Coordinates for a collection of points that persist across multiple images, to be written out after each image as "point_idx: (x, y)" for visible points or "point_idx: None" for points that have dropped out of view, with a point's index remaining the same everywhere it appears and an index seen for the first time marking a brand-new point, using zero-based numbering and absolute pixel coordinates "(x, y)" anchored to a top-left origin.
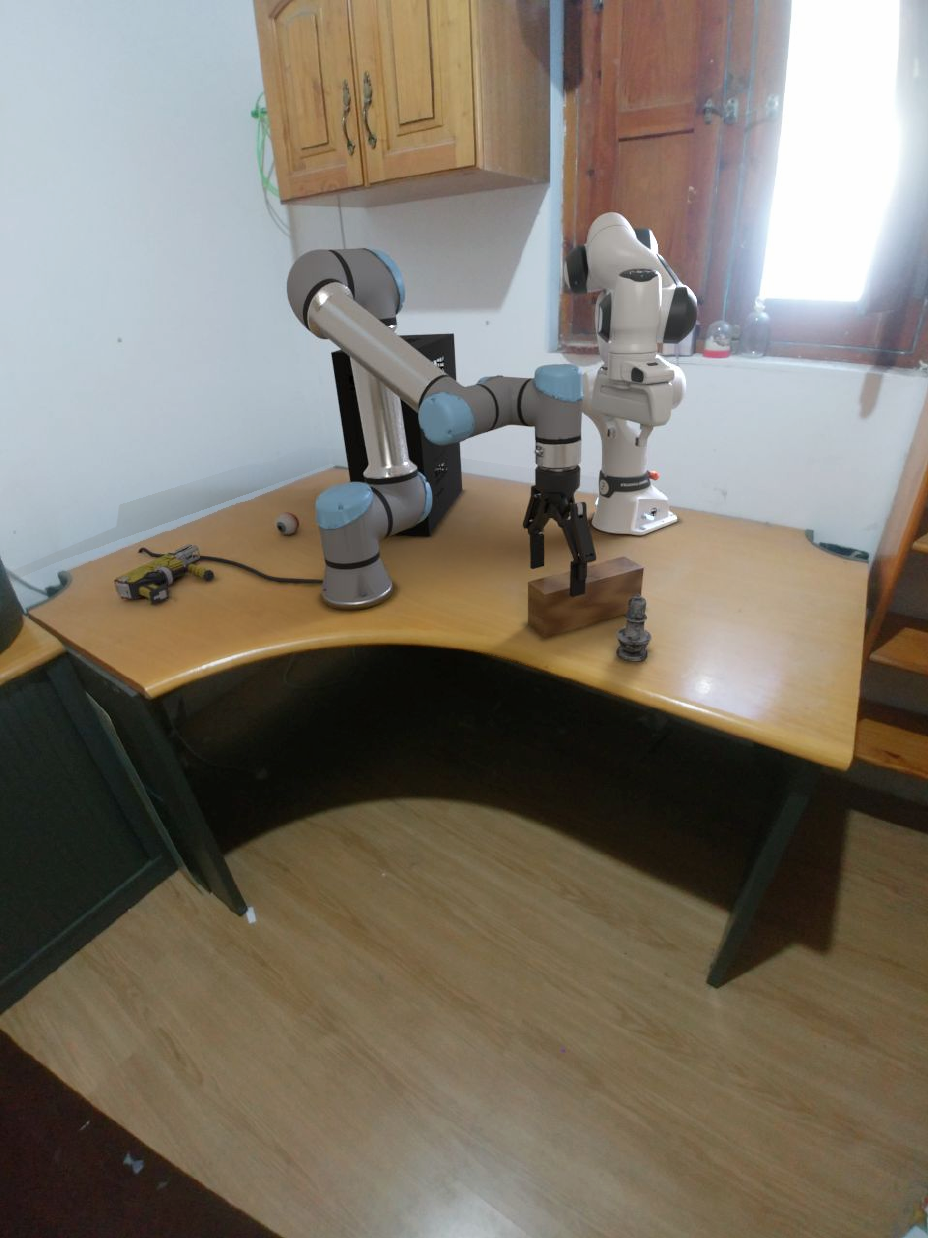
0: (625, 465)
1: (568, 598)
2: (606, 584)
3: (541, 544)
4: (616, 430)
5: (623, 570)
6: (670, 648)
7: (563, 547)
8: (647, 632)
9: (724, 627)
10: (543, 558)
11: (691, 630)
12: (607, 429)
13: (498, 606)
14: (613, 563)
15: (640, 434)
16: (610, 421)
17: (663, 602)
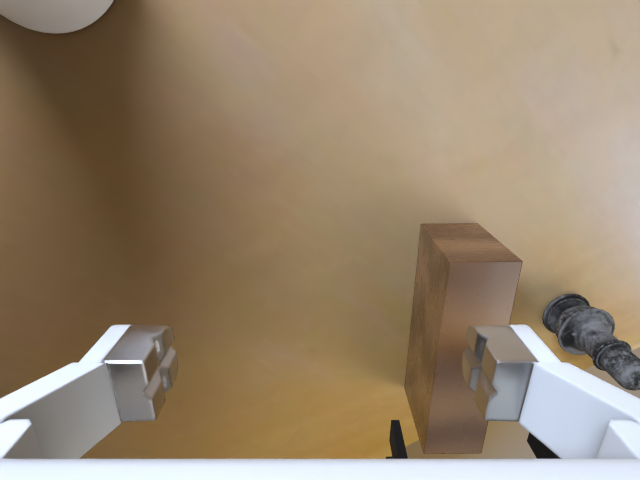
0: None
1: None
2: None
3: None
4: (150, 359)
5: (503, 304)
6: (597, 258)
7: (146, 186)
8: (598, 313)
9: (626, 131)
10: (402, 436)
11: (588, 191)
12: (119, 418)
13: (330, 397)
14: (463, 302)
15: (563, 452)
16: (49, 434)
17: (485, 164)
